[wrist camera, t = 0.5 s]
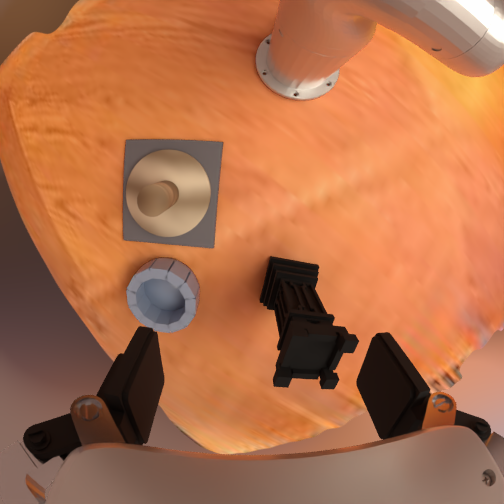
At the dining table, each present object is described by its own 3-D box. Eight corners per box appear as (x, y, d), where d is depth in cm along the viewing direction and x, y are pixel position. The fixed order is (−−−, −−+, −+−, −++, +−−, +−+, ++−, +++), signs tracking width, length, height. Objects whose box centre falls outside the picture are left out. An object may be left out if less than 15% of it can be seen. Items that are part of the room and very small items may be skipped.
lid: (131, 149, 36) (108, 148, 29) (214, 151, 37) (207, 150, 30) (128, 231, 41) (107, 246, 33) (207, 238, 41) (200, 255, 34)
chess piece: (270, 256, 43) (289, 331, 24) (318, 264, 44) (363, 338, 25) (259, 300, 46) (269, 388, 27) (304, 306, 47) (335, 391, 28)
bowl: (135, 253, 42) (124, 265, 38) (201, 260, 43) (196, 273, 38) (139, 311, 46) (130, 326, 41) (199, 319, 47) (195, 336, 42)
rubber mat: (127, 140, 36) (126, 139, 36) (223, 142, 37) (222, 142, 37) (124, 238, 42) (123, 240, 41) (214, 247, 43) (213, 248, 42)
